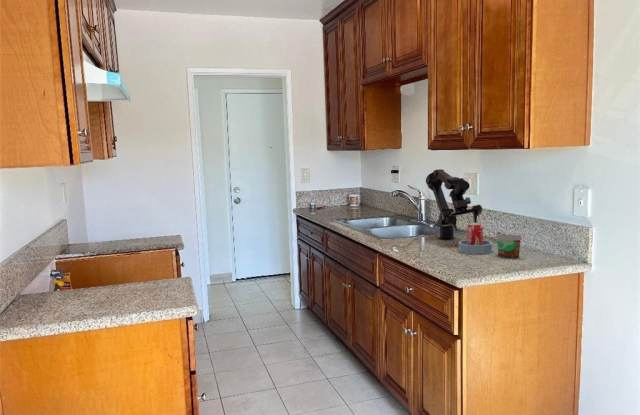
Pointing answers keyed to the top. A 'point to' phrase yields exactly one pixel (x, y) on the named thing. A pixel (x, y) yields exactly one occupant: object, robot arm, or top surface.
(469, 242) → the soda can
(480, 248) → the bowl
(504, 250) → the food container
